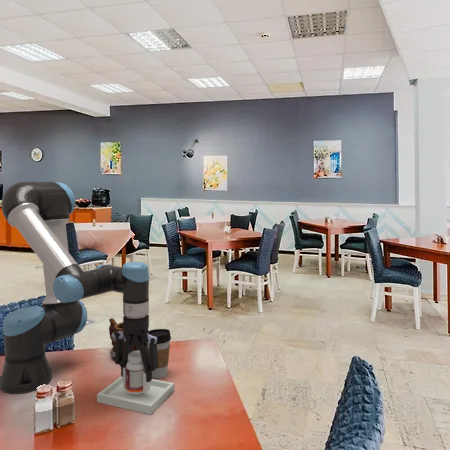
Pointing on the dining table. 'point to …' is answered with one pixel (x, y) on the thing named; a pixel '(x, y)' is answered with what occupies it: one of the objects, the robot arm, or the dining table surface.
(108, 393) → the tray
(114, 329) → the mug
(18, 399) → the dining table surface
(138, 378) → the pill bottle
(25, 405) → the dining table surface
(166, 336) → the coffee cup
